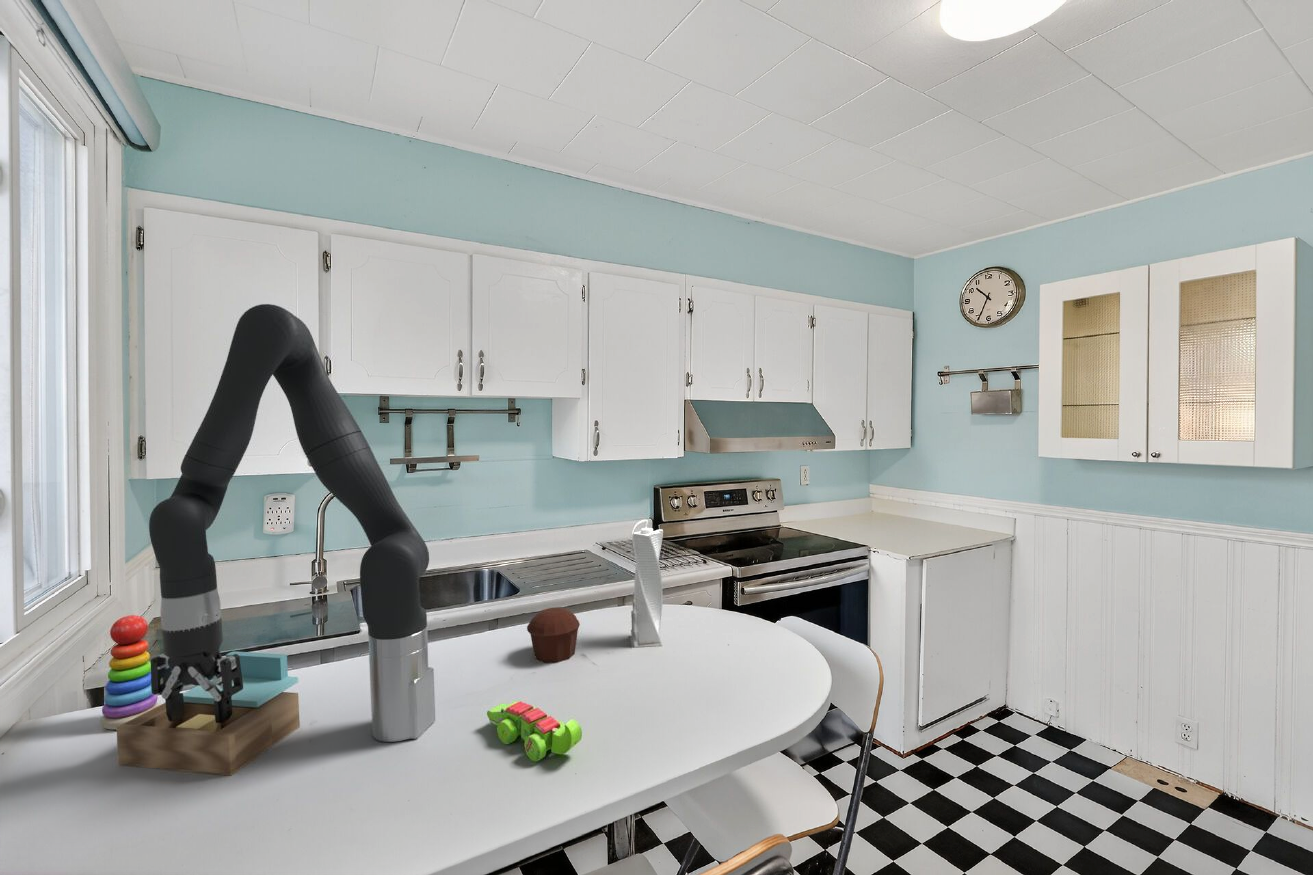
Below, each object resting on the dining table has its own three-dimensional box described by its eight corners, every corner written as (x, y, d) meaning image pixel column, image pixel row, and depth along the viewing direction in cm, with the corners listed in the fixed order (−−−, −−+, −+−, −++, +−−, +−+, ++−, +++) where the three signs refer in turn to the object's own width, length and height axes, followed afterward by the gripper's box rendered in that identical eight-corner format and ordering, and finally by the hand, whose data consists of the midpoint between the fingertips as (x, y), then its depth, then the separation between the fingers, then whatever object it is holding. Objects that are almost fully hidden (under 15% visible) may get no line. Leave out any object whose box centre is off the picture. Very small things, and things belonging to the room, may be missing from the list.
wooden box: (299, 726, 105) (298, 692, 105) (230, 775, 91) (228, 736, 91) (199, 718, 108) (197, 685, 108) (118, 764, 94) (116, 727, 94)
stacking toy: (126, 733, 104) (119, 626, 103) (89, 729, 105) (81, 623, 104) (171, 710, 111) (165, 610, 110) (136, 707, 113) (130, 608, 112)
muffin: (555, 640, 142) (554, 598, 142) (590, 651, 136) (590, 607, 135) (516, 658, 132) (515, 613, 132) (552, 670, 126) (551, 623, 125)
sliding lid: (298, 682, 108) (296, 654, 108) (257, 707, 99) (255, 677, 99) (224, 677, 110) (223, 650, 110) (178, 701, 102) (176, 672, 101)
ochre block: (221, 745, 99) (220, 715, 99) (199, 759, 95) (198, 728, 95) (200, 743, 100) (199, 714, 99) (177, 757, 96) (176, 726, 95)
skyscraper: (629, 635, 146) (627, 519, 144) (662, 633, 146) (660, 518, 145) (631, 649, 137) (629, 526, 136) (666, 646, 138) (665, 525, 137)
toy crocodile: (480, 731, 103) (479, 696, 103) (512, 715, 108) (512, 682, 108) (556, 775, 90) (555, 735, 90) (589, 755, 95) (588, 718, 95)
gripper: (251, 612, 98) (258, 709, 99) (174, 611, 101) (182, 706, 101) (210, 629, 91) (218, 734, 92) (129, 627, 93) (138, 730, 94)
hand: (199, 719), depth 97 cm, fingers open, 8 cm apart
